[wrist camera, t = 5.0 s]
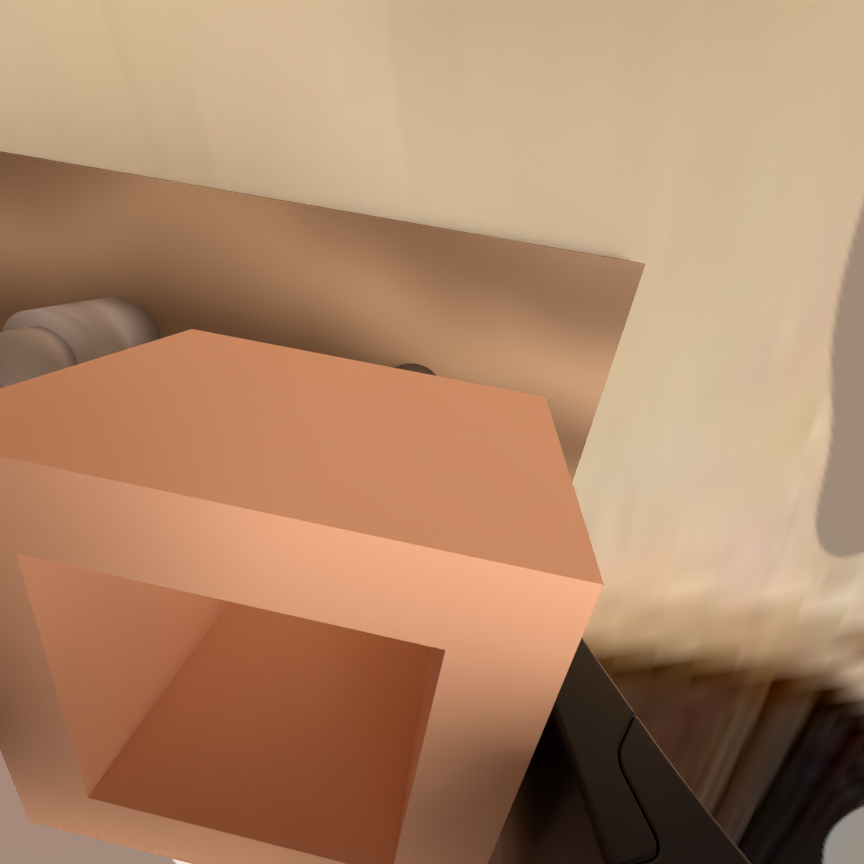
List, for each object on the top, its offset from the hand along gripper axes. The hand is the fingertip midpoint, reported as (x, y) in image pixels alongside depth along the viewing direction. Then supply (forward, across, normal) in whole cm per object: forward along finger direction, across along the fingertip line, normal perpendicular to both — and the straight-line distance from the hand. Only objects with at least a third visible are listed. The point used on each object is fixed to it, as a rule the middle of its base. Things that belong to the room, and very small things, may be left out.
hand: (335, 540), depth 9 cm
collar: (+1, 0, 0) cm, 1 cm away
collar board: (+11, +6, 0) cm, 12 cm away
